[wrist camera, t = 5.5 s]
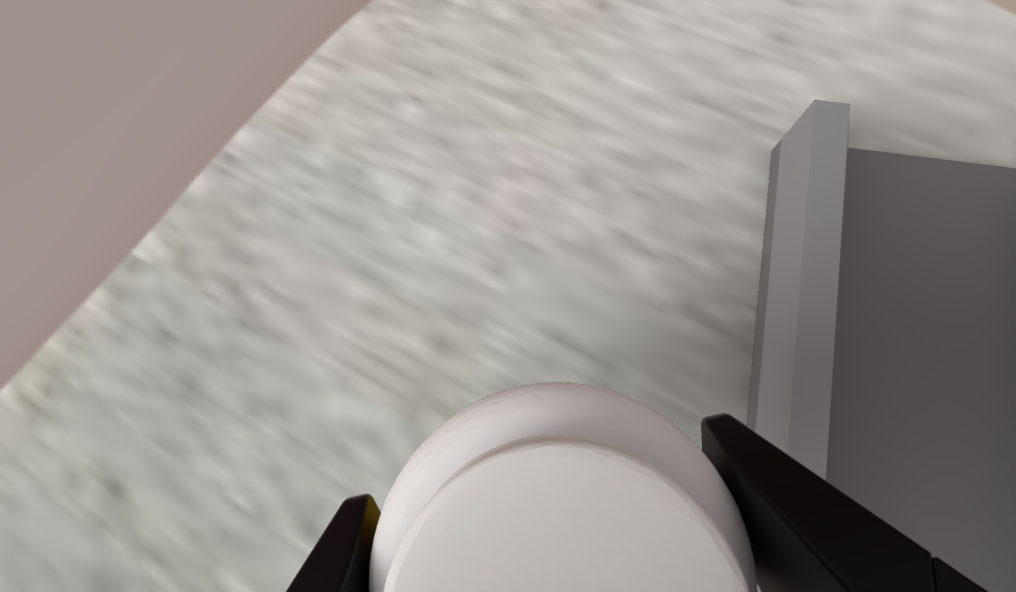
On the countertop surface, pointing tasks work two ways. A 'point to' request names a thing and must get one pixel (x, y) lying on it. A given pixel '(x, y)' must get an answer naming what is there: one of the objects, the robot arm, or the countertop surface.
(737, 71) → the countertop surface
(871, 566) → the robot arm
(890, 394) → the cable duct
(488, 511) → the supplement bottle
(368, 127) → the countertop surface
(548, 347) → the countertop surface
